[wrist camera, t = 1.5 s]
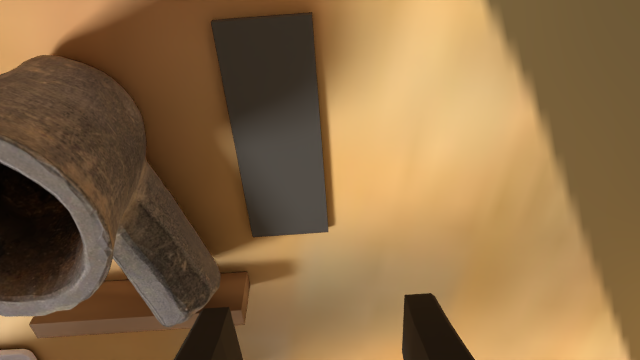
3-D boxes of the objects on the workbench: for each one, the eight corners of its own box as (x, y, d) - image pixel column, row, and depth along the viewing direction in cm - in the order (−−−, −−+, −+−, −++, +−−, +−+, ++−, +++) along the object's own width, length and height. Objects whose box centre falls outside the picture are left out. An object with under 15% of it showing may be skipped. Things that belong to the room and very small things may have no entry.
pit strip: (328, 227, 22) (328, 231, 22) (253, 233, 22) (252, 237, 22) (311, 12, 17) (311, 14, 16) (212, 20, 17) (211, 22, 16)
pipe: (155, 275, 24) (96, 432, 17) (-41, 47, 17) (-264, 156, 10) (262, 238, 22) (244, 391, 16) (96, -22, 16) (-56, 51, 9)
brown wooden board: (249, 285, 24) (244, 324, 22) (60, 298, 24) (37, 338, 22) (169, -91, 15) (146, -85, 13) (-138, -65, 15) (-210, -56, 13)
